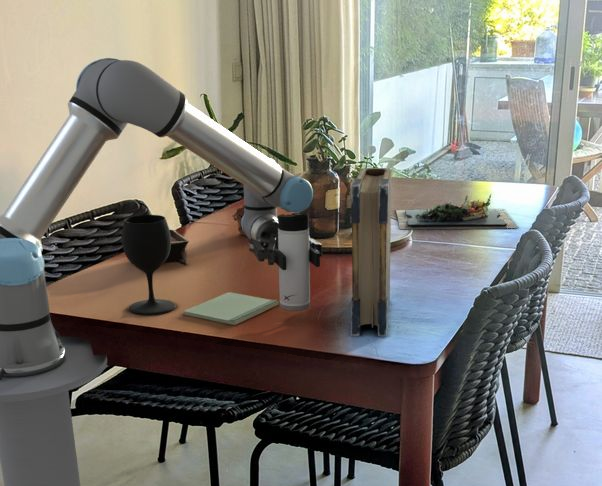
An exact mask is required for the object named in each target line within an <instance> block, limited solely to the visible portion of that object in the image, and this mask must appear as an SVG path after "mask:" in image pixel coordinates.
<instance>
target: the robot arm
mask: <svg viewBox="0 0 602 486" xmlns="http://www.w3.org/2000/svg"><path fill="white" fill-rule="evenodd" d="M75 84H76V85H75V91H74V93H73V94H72V96H71V98H70V99H69V100H68V102H67V108H68V113H69V115H68V117H67V118H66V119H65V121H64V122H63V124H62V126H61V127H60V128H59V130H58V131H57V133H56V134H55V136H54V138H53V139H52V141H50V144H49V145H48V147H47V148H46V149H45V151H44V152H43V154H42V155H41V157H40V158H39V160H38V161H37V163H36V164H35V165H34V167H33V169H32V171H30V173H29V174H28V176H27V178H26V179H25V181H24V182H23V183H22V185H21V187H20V188H19V190H18V191H17V193H16V194H15V196H14V197H13V199H12V200H11V202H10V203H9V205H8V206H7V208H6V209H5V211H4V212H3V213H2V214H0V380H2V378H20V377H29V376H34V375H39V374H42V373H46V372H49V371H51V370H53V369H55V368H57V367H59V366H60V365H62V364H63V363H64V361H65V350H64V347H63V345H62V343H61V341H60V339H59V337H61V335H60V333H59V332H58V331H57V330H56V329H55V327H54V326H53V323H52V320H51V313H50V311H51V310H50V304H49V296H48V289H47V282H46V281H47V280H46V273H45V260H44V257H43V254H42V253H43V250H44V249H43V245H42V238H43V237H44V236H45V234H46V232H47V231H48V229H49V228H50V227H51V225H52V223H53V222H54V220H55V219H56V217H57V216H58V215H59V213H60V212H61V210H62V208H63V207H64V206H65V204H66V202H67V201H68V200H69V198H70V197H71V195H72V194H73V192H74V190H75V189H76V188H77V187H78V185H79V183H80V181H81V180H82V178H83V177H84V175H85V174H86V173H87V171H88V169H89V168H90V167H91V165H92V164H93V162H94V161H95V159H96V158H97V156H98V154H100V151H102V148H103V147H104V145H105V144H106V143H107V142H108V141H112V140H113V141H114V140H117V139H118V138H119V137H120V136H121V134H122V132H123V131H124V130H125V128H126V127H127V125H129V124H130V125H133V126H135V127H138V128H141V129H144V130H146V131H148V132H150V133H152V134H153V135H154V136H157V137H158V138H165V137H167V138H169V139H171V140H172V141H174V142H175V143H177V144H179V145H180V146H181V147H183V148H185V149H186V150H188V151H190V152H191V153H193V154H194V155H196V156H198V157H199V158H201V159H202V160H204V161H205V162H207V163H209V164H210V165H212V166H214V167H215V168H216V169H218V170H220V171H221V172H223V173H224V174H226V175H228V176H229V177H231V178H232V179H234V180H235V181H237V182H239V183H240V184H242V185H243V198H244V199H243V201H244V203H243V204H244V205H243V206H244V215H243V217H242V221H241V225H242V229H243V231H244V232H245V234H246V236H245V237H247V239H248V250H249V252H250V253H252V254H254V256H255V258H256V259H257V260H258V262H261V263H263V262H265V260H267V265H268V266H273V265H277V266H278V268H279V267H280V268H281V269H282V270H286V256H285V255H284V254H283V253H282V252H281V251H279V250H278V225H279V224H278V219H277V216H278V209H281V210H283V211H285V212H287V213H303V212H304V211H306V210H307V209H308V208H309V207H310V205H311V203H312V202H313V198H314V190H313V187H312V184H311V183H310V182H309V181H308V180H307V179H306V178H303V177H302V176H300V175H294V174H293V173H291V172H290V171H289V170H287V169H286V168H284V167H282V166H281V165H279V164H278V163H277V162H276V160H275V159H274V158H271V157H268V156H266V155H265V154H264V153H262V152H260V151H258V150H257V149H256V148H254V147H253V146H251V145H250V144H249V143H247V142H245V141H244V140H243V139H241V138H239V136H237V135H236V134H234V133H232V132H231V131H230V130H228V129H226V128H225V127H224V126H222V125H221V124H219V123H218V122H217V121H214V119H212V118H210V117H209V116H207V115H206V114H204V113H203V112H202V111H200V110H199V109H197V108H196V107H194V106H193V105H191V104H190V103H189V102H188V100H187V96H186V94H185V93H183V92H182V91H180V90H179V89H177V88H176V87H175V86H173V85H172V84H171V83H170V82H168V81H166V80H165V79H164V78H163V77H162V76H160V75H159V74H157V73H156V72H155V71H153V70H152V69H151V68H149V67H148V66H146V65H145V64H142V63H140V62H138V61H135V60H130V59H129V60H128V59H119V58H111V57H105V58H99V59H96V60H94V61H91V62H89V64H87V65H86V66H85V67H83V69H81V71H80V72H79V75H78V77H77V79H76V83H75ZM321 257H323V244H322V243H321V242H319V241H317V240H315V239H314V238H312V237H311V236H310V234H309V262H310V264H311V265H313V266H314V267H316V268H319V267H321ZM58 336H59V337H58Z"/></svg>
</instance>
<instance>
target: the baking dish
mask: <svg viewBox="0 0 602 486" xmlns="http://www.w3.org/2000/svg"><path fill="white" fill-rule="evenodd" d="M169 230H170V235H171V249H170V253H169V255H168V257H167V259H166V261H165V262H164V263H176V264H181V265H185V266H187V253H188V248H187V246H188V244H189V242H190V241H189V240H188V239H187V238H186V237H184V236H183V235H181V234H180V233H179V232H177V231H176V230H174V229H170V228H169Z"/></svg>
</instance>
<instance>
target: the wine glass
mask: <svg viewBox="0 0 602 486" xmlns="http://www.w3.org/2000/svg"><path fill="white" fill-rule="evenodd" d="M121 230H122V231H121V244H122V249H123V252H124V255H125V256H126V258H127V260H128V261H129V262H130V263H131V264H132V265H133V266H134V267H135V268H137V269H138V270H139V271H140V272H143V273H144V274H145V276H146V280H147V286H148V299H145V300H140V301H137V302H134V303H132V304H131V305H129V306H128V311H129V312H130V313H132V314H134V315H139V316H158V315H163V314H168V313H170V312H172V311H174V310H175V309H176V306H177V305H176V303H175V302H174V301H172V300H169V299H161V298H156V297H155V294H154V285H153V283H154V281H153V278H154V273H155V272H156V271H157V270H158V269H160V268H161V267H162V265H164V263H166V262H165V261H166V259H167V257H168V255H169V253H170V249H171V235H170V227H169V225H168V222H167V219H166V217H165V215H164V216H163V215H161V214H139V215H138V214H137V215H133V216H129V217H126V218H125V219H124V220H123V224H122V229H121Z"/></svg>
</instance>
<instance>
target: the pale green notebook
mask: <svg viewBox="0 0 602 486" xmlns="http://www.w3.org/2000/svg"><path fill="white" fill-rule="evenodd" d="M277 306H280V301H279V300H278V299H268V298H262V297H258V296H252V295H248V294H247V295H246V294H242V293H236V292H232V291H228V292H226V293H223V294H221V295H219V296H216V297H214V298H211V299H209V300H207V301H204V302H202V303H199V304H197V305H195V306H192V307H190V308H187V309H185V310H183V311H182V312H183V314H182V315H184V316H188V317H193V318H197V319H203V320H207V321H211V322H218V323H222V324H228V325H230V326H231V325H232V326H236V325H239V324H240V323H242V322H245V321H247V320H250V319H251V318H253V317H255V316H258V315H260V314H262V313H264V312H266V311H269V310H270V309H272V308H275V307H277Z"/></svg>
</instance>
